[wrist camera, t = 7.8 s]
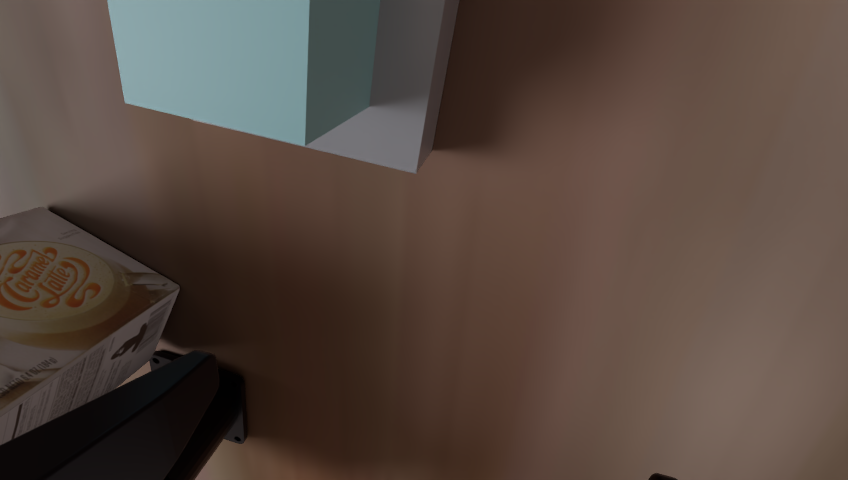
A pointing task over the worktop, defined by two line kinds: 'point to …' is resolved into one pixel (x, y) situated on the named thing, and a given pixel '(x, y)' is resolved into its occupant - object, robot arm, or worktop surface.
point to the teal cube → (249, 61)
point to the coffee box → (69, 318)
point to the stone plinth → (399, 88)
